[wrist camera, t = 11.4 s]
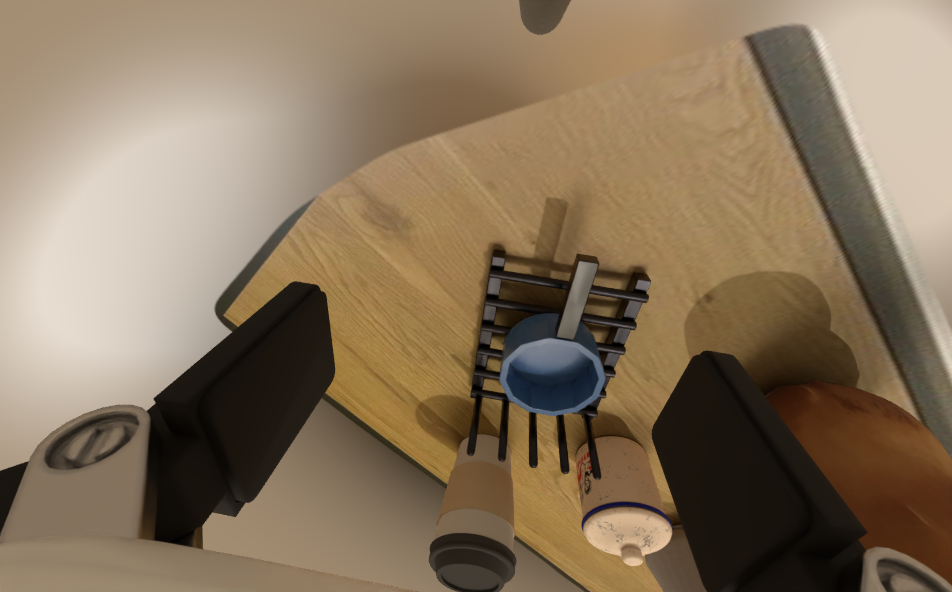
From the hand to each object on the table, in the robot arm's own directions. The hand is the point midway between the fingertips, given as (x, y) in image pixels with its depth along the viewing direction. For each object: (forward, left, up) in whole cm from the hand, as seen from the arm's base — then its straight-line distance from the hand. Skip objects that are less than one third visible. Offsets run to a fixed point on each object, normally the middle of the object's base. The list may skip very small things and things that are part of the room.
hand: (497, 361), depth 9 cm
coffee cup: (+36, +2, -23) cm, 43 cm away
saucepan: (+12, +6, -21) cm, 25 cm away
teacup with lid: (+34, +18, -23) cm, 45 cm away
